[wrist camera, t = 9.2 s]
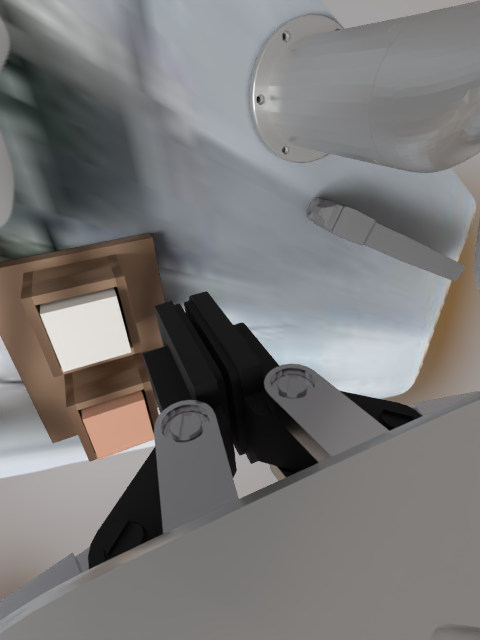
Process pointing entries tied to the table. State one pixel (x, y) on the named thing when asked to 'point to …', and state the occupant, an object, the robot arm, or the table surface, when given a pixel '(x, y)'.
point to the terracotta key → (118, 424)
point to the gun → (380, 238)
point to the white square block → (85, 328)
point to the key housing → (68, 281)
